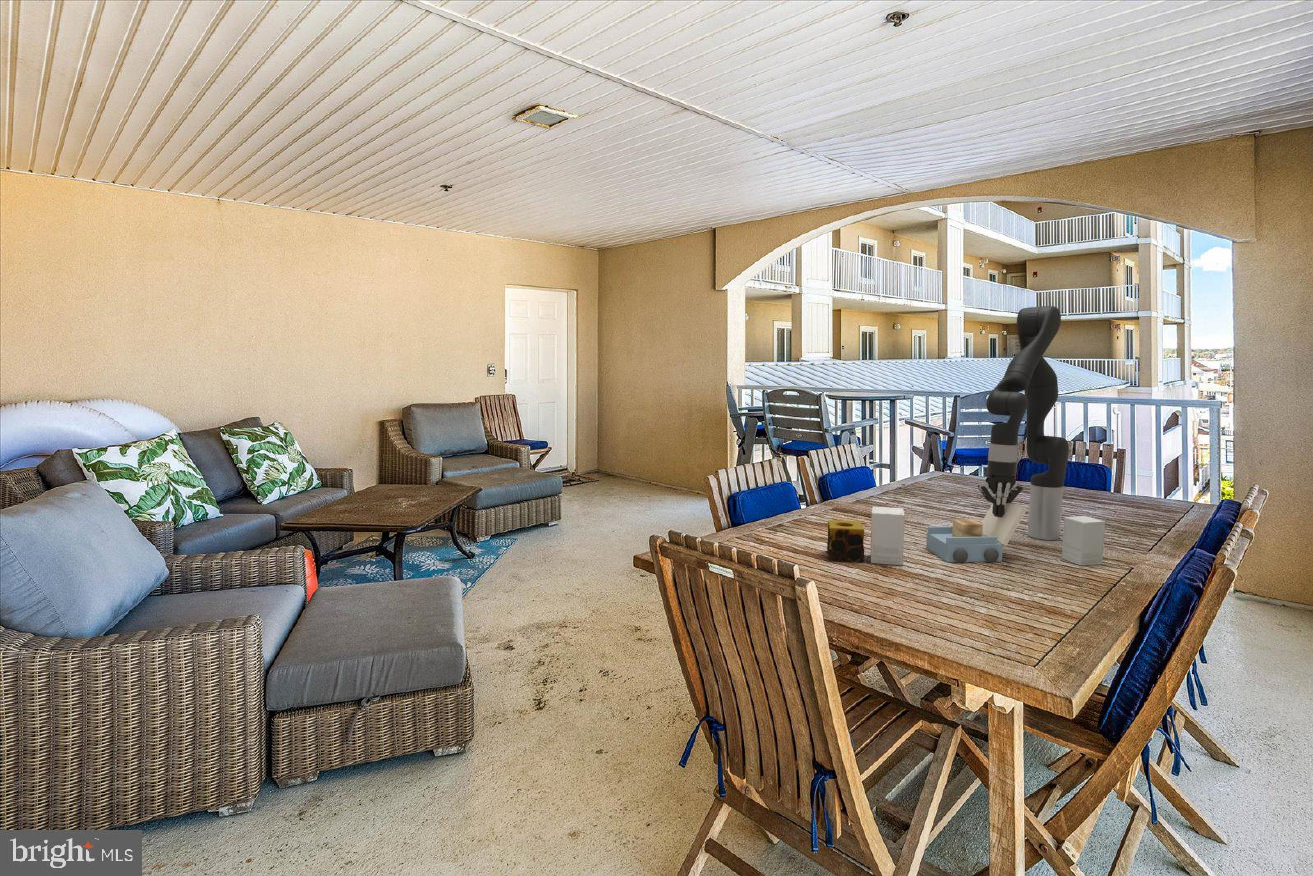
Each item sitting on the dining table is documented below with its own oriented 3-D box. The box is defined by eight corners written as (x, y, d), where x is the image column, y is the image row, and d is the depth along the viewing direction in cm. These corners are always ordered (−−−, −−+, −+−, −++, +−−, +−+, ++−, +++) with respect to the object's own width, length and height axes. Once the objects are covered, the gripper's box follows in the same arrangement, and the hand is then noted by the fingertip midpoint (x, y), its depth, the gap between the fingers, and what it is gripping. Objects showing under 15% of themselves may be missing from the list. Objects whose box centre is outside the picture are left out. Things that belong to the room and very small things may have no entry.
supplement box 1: (902, 557, 195) (904, 507, 193) (903, 566, 186) (905, 514, 184) (870, 554, 197) (872, 505, 196) (869, 563, 189) (871, 512, 187)
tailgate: (980, 532, 203) (1000, 498, 202) (1006, 545, 189) (1027, 509, 188) (977, 530, 203) (996, 496, 202) (1002, 543, 189) (1023, 507, 188)
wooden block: (971, 535, 199) (972, 519, 198) (981, 540, 193) (982, 524, 193) (952, 535, 199) (952, 519, 198) (961, 541, 193) (962, 524, 192)
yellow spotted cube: (864, 563, 189) (865, 529, 188) (828, 561, 191) (829, 528, 190) (860, 552, 199) (861, 520, 198) (826, 551, 201) (827, 519, 200)
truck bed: (975, 546, 205) (976, 524, 204) (1003, 562, 189) (1004, 538, 188) (925, 547, 204) (926, 525, 203) (948, 563, 189) (950, 539, 188)
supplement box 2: (1103, 564, 186) (1106, 521, 185) (1080, 566, 185) (1083, 522, 184) (1082, 557, 194) (1085, 515, 192) (1060, 558, 192) (1063, 516, 191)
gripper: (1016, 457, 197) (1012, 513, 199) (973, 457, 197) (969, 513, 199) (1032, 461, 190) (1027, 519, 192) (987, 460, 189) (982, 519, 191)
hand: (997, 516), depth 195 cm, fingers closed
